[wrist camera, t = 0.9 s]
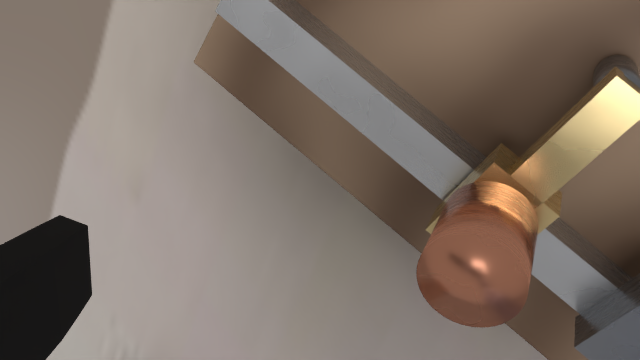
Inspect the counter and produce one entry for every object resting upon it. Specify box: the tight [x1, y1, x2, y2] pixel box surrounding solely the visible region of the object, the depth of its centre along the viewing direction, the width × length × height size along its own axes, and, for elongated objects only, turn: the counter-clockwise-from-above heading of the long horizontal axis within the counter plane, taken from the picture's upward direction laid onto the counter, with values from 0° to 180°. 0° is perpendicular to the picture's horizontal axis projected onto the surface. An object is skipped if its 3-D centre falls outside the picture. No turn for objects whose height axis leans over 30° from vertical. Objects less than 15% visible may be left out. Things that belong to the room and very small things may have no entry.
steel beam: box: [215, 0, 633, 314], centre depth 20 cm, size 21×2×2 cm, turn 56°
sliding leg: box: [417, 55, 640, 327], centre depth 16 cm, size 3×7×6 cm, turn 146°
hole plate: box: [194, 0, 640, 360], centre depth 20 cm, size 22×13×2 cm, turn 56°
